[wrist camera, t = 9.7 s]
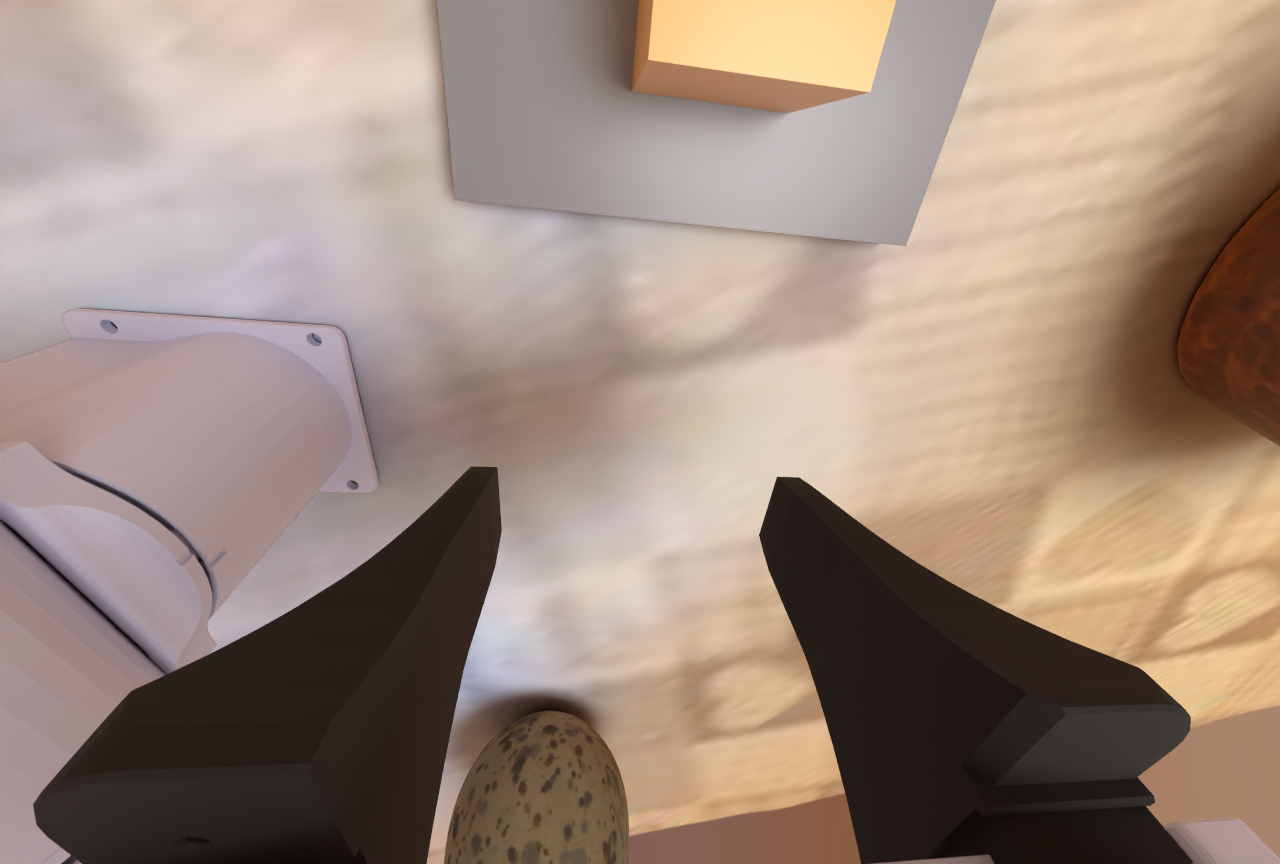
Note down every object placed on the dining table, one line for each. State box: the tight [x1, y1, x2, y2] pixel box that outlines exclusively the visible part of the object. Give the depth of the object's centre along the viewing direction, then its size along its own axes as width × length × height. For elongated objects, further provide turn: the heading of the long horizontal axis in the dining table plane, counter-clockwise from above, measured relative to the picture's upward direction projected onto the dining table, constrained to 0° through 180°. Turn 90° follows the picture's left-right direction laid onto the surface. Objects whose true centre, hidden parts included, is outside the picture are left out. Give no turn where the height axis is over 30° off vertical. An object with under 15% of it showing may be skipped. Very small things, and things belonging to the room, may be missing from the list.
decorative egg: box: [444, 711, 629, 864], centre depth 27 cm, size 11×11×15 cm
